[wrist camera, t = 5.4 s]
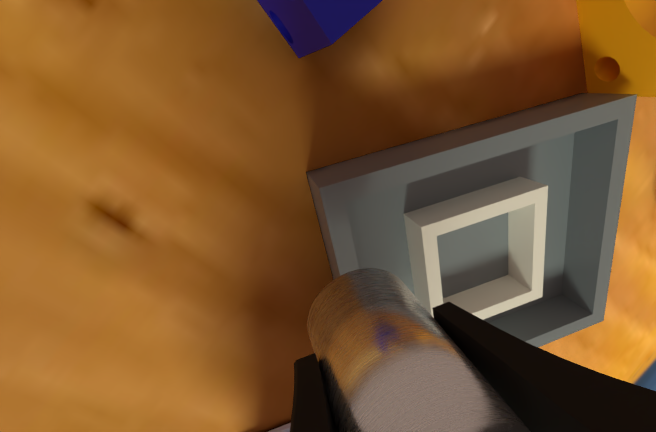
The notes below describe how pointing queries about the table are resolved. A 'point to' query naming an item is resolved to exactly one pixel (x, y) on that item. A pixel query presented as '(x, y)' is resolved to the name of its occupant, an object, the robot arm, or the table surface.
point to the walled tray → (491, 214)
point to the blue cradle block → (315, 20)
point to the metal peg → (396, 363)
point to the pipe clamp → (619, 46)
